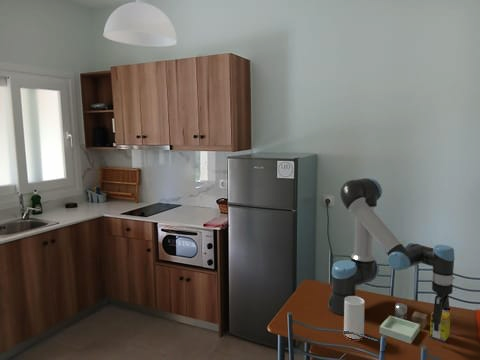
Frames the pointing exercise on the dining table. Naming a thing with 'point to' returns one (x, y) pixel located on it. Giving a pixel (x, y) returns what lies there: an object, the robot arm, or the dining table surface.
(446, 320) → the supplement box
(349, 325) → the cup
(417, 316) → the walnut block
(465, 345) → the dining table surface
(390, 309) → the dining table surface
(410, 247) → the robot arm
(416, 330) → the tray
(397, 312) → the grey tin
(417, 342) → the dining table surface
